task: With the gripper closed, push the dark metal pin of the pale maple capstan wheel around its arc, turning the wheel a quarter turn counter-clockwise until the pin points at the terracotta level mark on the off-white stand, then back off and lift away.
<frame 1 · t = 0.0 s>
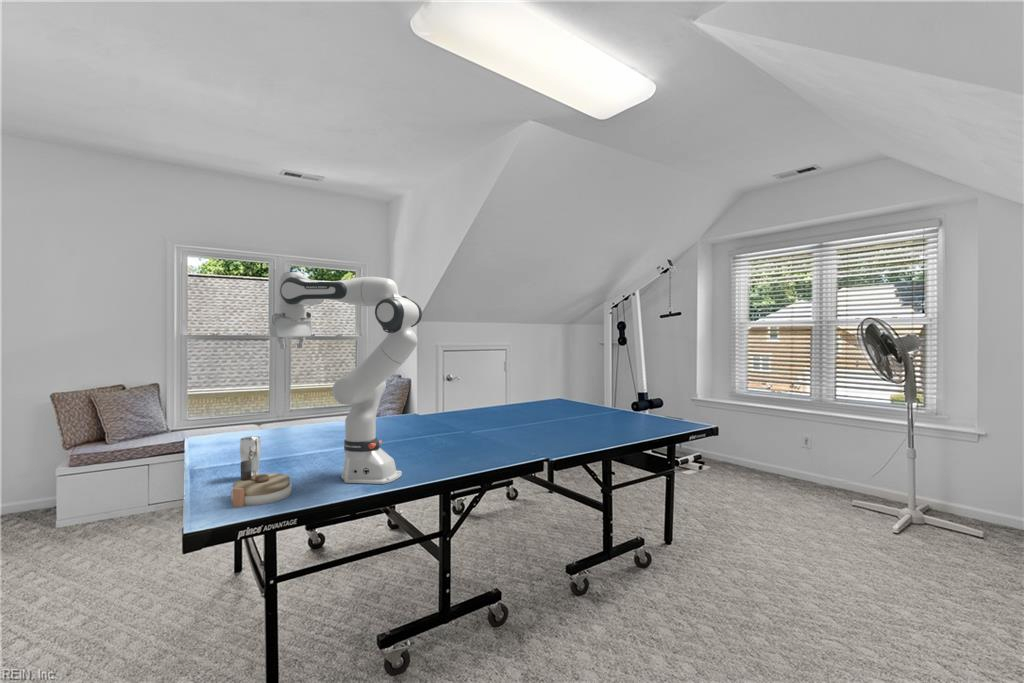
hand: (291, 348, 197), 48 cm above the table, fingers open, 8 cm apart
capstan wheel: (261, 475, 167), point 7 cm above the table, hinge at 0.0°
stand: (262, 495, 167), on the table
beer glass: (250, 478, 187), on the table
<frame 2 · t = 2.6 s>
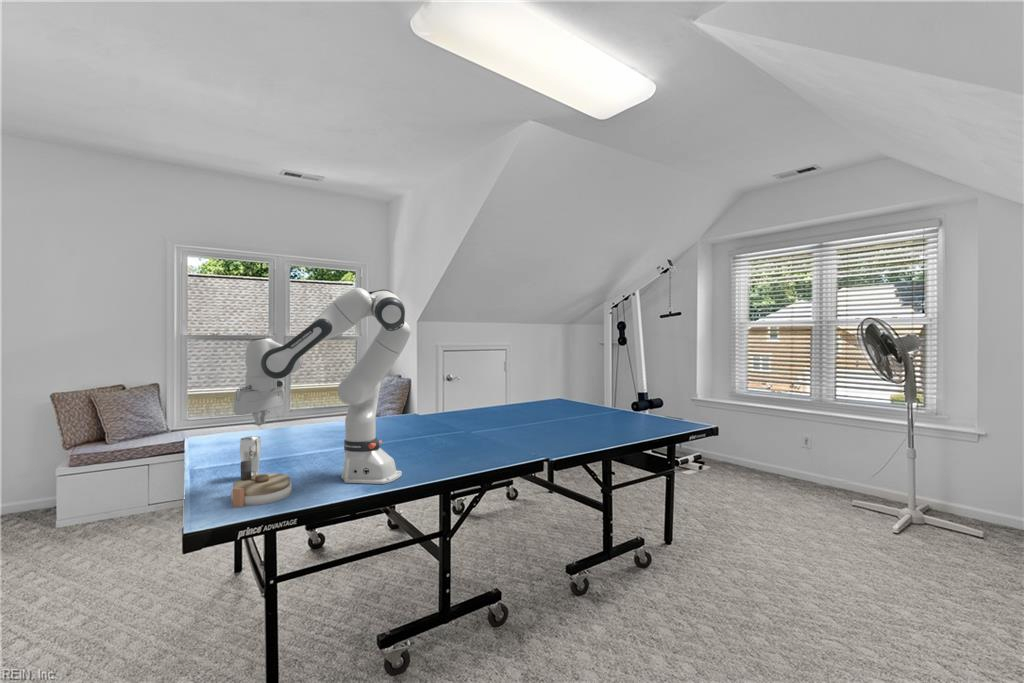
hand: (260, 423, 174), 23 cm above the table, fingers closed
nothing on the table moved.
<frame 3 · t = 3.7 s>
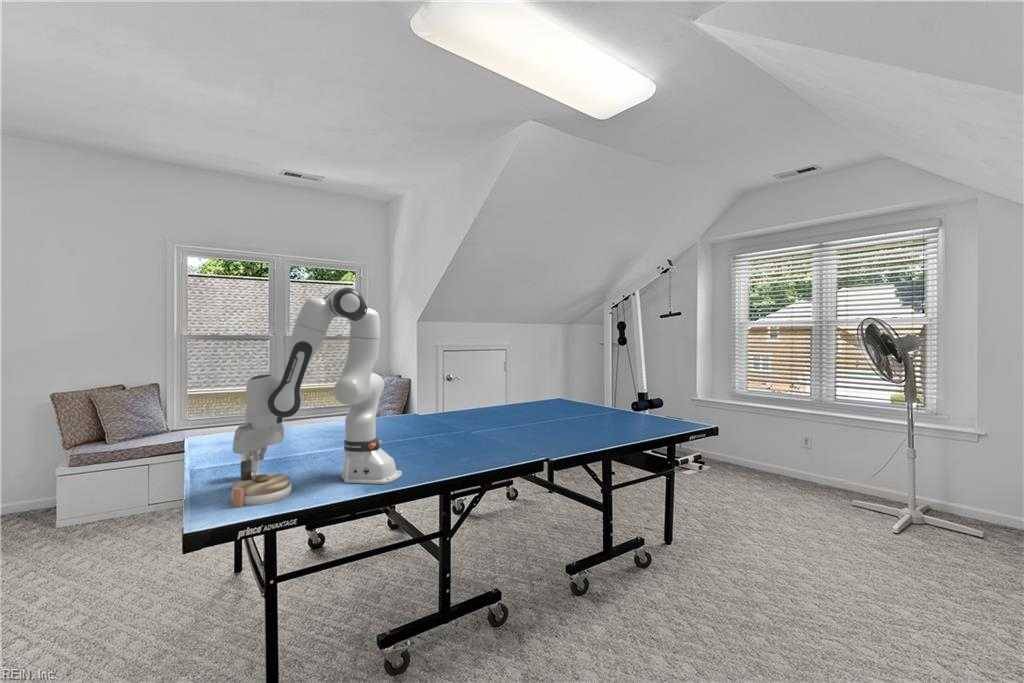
hand: (259, 460, 175), 10 cm above the table, fingers closed
nothing on the table moved.
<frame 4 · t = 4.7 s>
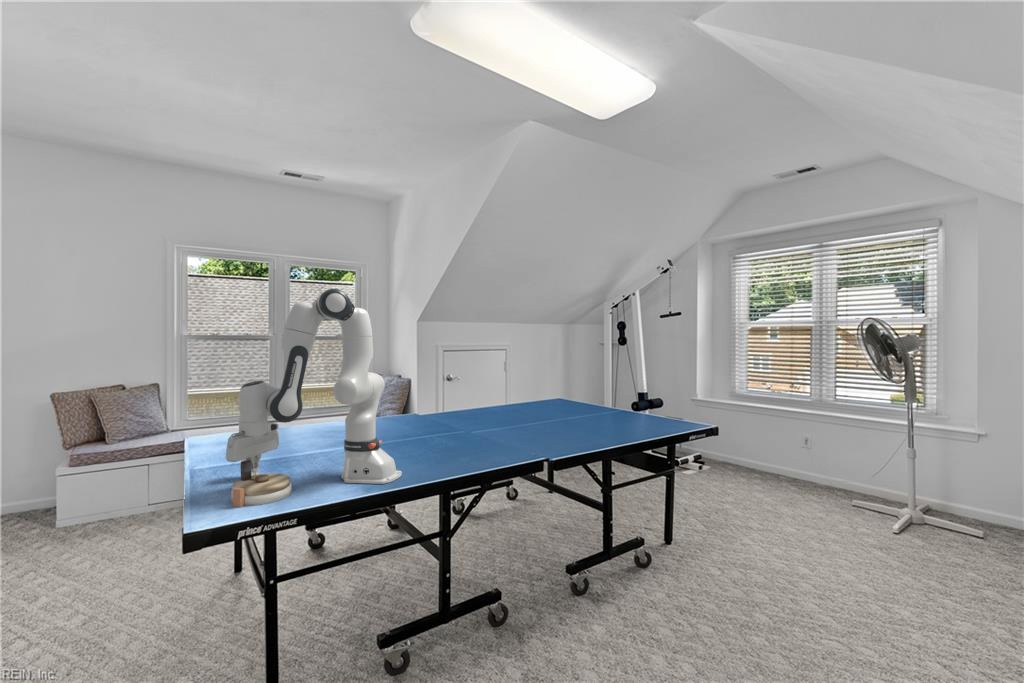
hand: (253, 468, 172), 8 cm above the table, fingers closed
capstan wheel: (261, 475, 167), point 7 cm above the table, hinge at 0.1°, touching gripper
everything else where it was.
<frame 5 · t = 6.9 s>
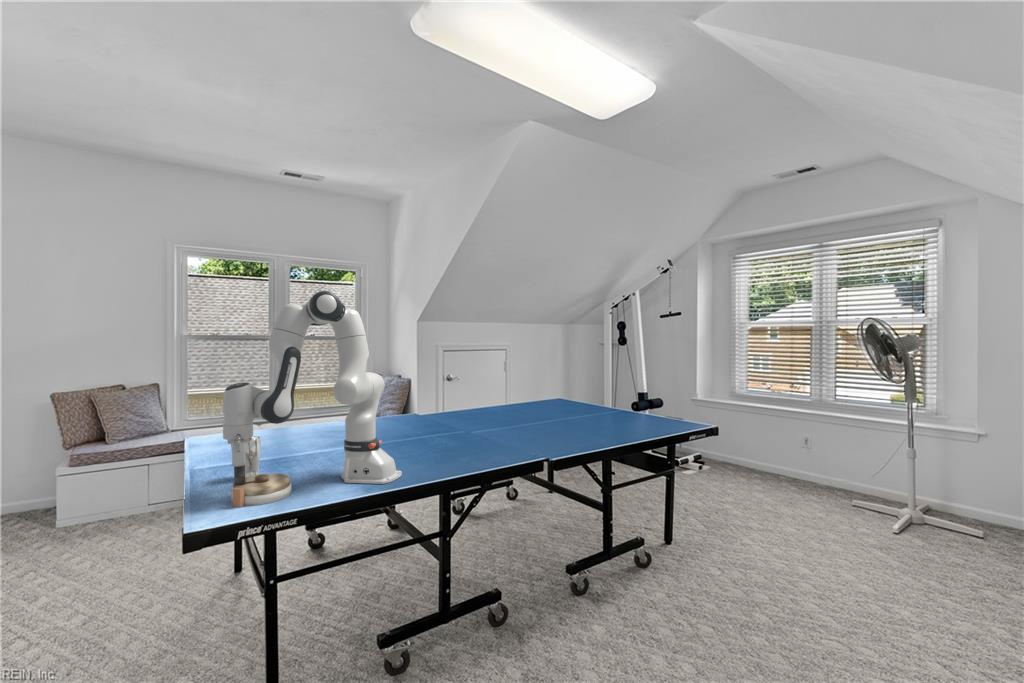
hand: (238, 473, 166), 8 cm above the table, fingers closed
capstan wheel: (261, 475, 167), point 7 cm above the table, hinge at 47.8°, touching gripper
everything else where it was.
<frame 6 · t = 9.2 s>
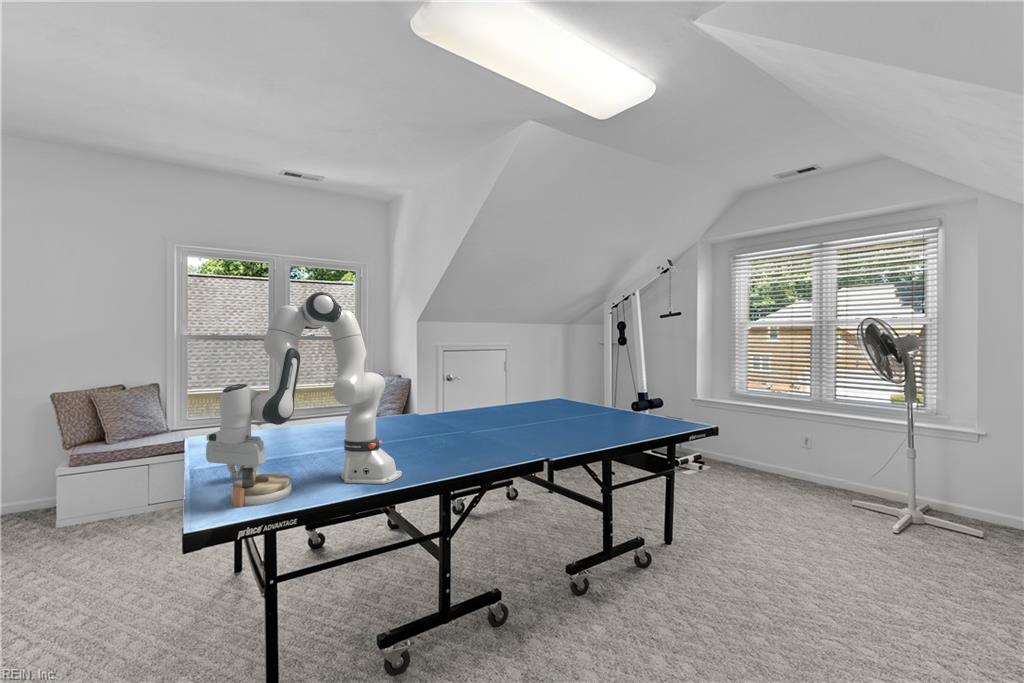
hand: (236, 477, 161), 8 cm above the table, fingers closed
capstan wheel: (261, 475, 167), point 7 cm above the table, hinge at 94.3°
everything else where it was.
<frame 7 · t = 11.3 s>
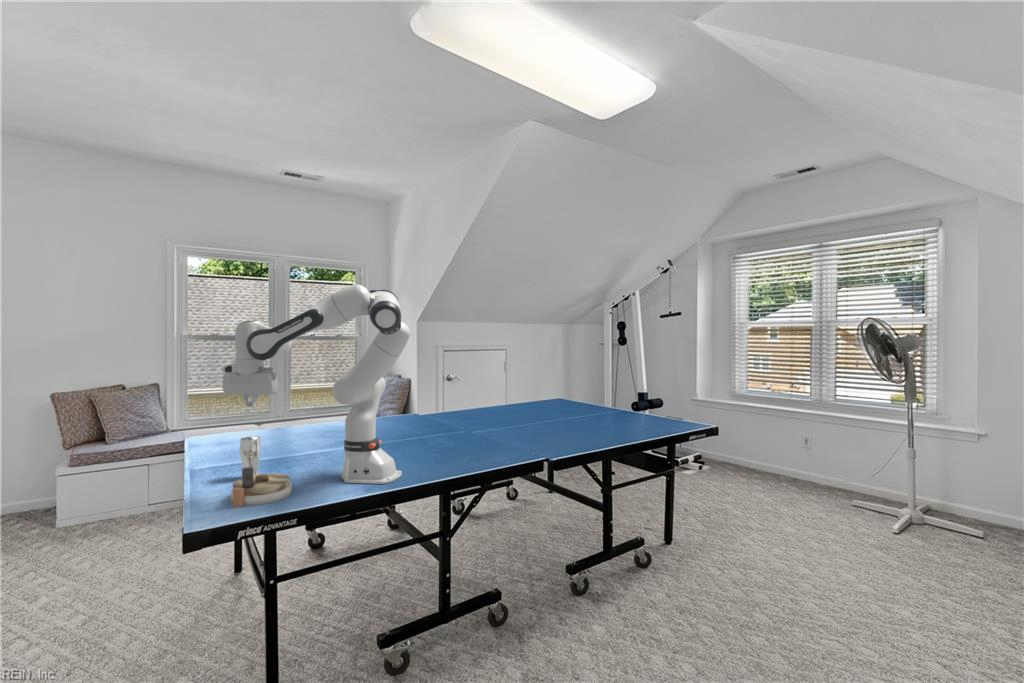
hand: (251, 406, 174), 29 cm above the table, fingers closed
nothing on the table moved.
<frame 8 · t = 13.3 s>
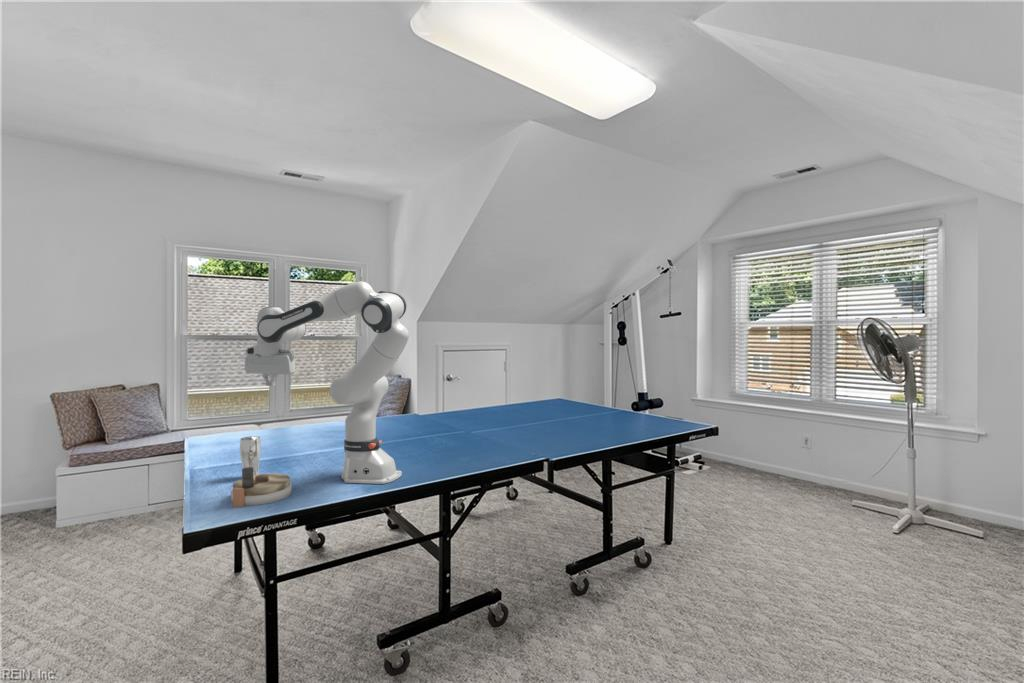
hand: (270, 385, 190), 34 cm above the table, fingers closed
nothing on the table moved.
at the end: capstan wheel at +94° (first picture: +0°); the gripper is holding nothing; beer glass moved 0.2 cm from its start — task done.
